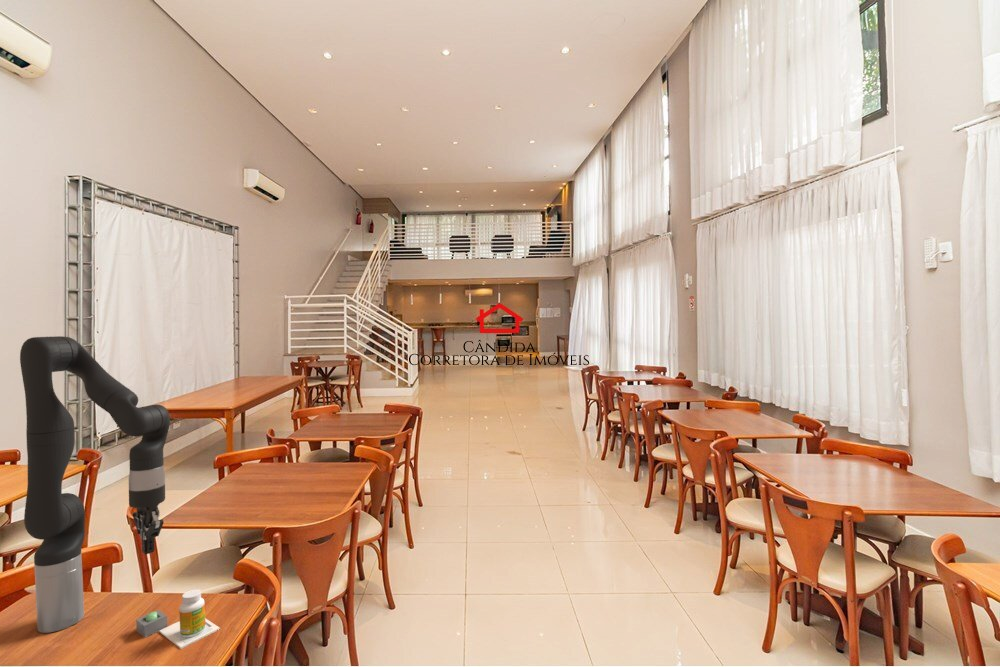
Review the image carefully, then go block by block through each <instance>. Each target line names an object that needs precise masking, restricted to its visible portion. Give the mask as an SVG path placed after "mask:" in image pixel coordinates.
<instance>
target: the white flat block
mask: <svg viewBox="0 0 1000 667" xmlns="http://www.w3.org/2000/svg"><path fill="white" fill-rule="evenodd" d="M219 629H220V630H221V627H220V626H218V625H216V624H215V623H214V622H212V621H210V620H209V619H207V618H206V617H205V629H204V631H203V632H201V633H200V634H198V635H196V636H193V637H188V638H185V637H182V636H181V635H180V620H179V621H177V622H175V623H172V624H170V625H167V627H166V628H164V629H162V630H160V631H158V632H159V634H161V635H162V636H164V637H165V638H166V639H167V640H169V641H170V642H171V643H173V644H174V645H175V646H177V648H179V649H180V650H182V649H184V648H186V647H188V646H190V645H192V644H194V643H196V642H198V641H200V640H202V639H203V638H206V637H207V636H208V637H209V635H212V634H213V633H215V632H218V631H220V630H219ZM217 630H218V631H217Z"/></svg>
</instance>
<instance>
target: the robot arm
mask: <svg viewBox="0 0 1000 667" xmlns="http://www.w3.org/2000/svg"><path fill="white" fill-rule="evenodd" d="M19 351H20V352H19V354H20V355H19V363H20V364H19V365H20V370H21V371H20V372H21V375H22V384H23V387H24V388H23V389H24V394H25V395H24V396H25V412H26V414H25V415H26V429H25V430H26V434H25V436H26V453H27V454H26V455H27V489H26V496H25V504H24V505H25V506H24V516H23V517H24V518H23V521H24V522H23V524H24V528H25V530H26V531H27V533H28V534H29V536H30V537H32V538H34V539H37V540H40V541H41V540H42V542H41V544H40V545H39V547H38V548H37V549H36V550H35V552H34V554H33V560H34V561H33V562H34V564H33V565H34V582H35V583H34V584H35V602H36V603H35V604H36V605H35V606H36V607H35V608H36V625H37V632H38V633H41V634H42V633H43V634H46V633H47V634H48V633H54V632H58V631H62V630H64V629H68V628H70V627H72V626H74V625H75V624H77V623H79V622H80V621H81V620H83V618H84V617H85V607H84V606H85V604H84V601H85V600H84V599H85V598H84V580H83V563H82V562H83V561H82V558H83V557H82V546H83V543H84V540H85V536H86V534H85V533H86V532H85V528H86V511H85V505H84V503H83V501H82V499H81V498H80V497H79V496H78V495H77V494H74V493H69V492H64V493H63V491H62V489H63V488H62V486H63V485H62V484H63V479H64V475H65V473H66V470H67V468H68V465H69V463H70V460H71V458H72V455H73V452H74V450H75V444H76V443H75V442H76V441H75V440H76V439H75V437H76V435H75V433H76V432H75V420H74V418H73V416H72V415H71V413H70V412H69V410H68V409H67V408H66V406H64V404H63V403H62V402H61V400H60V399H59V397H58V396H57V394H56V393H55V389H54V384H53V382H54V381H53V373H55V372H65V371H67V372H69V373H71V374H74V375H75V376H77V377H79V378H80V379H81V380H82V382H83V384H84V390H85V393H86V395H87V396H88V398H89V399H90V400H91V401H92V402H93V403H94V404H95V405H97V406H98V407H100V408H101V409H102V410H103V411H105V412H107V413H108V414H109V415H110V416H111V419H112V420H113V421H114V423H115V424H116V426H117V427H118V429H120V431H121V432H122V433H124V434H125V435H127V436H131V437H135V438H137V437H142V438H141V440H140V441H139V442H138V443H137V444H135V445H133V446H132V447H131V448H130V450H129V458H128V459H129V474H128V506H129V507H130V508H133V509H136V511H135V512H132V517H133V521H134V525H135V528H136V533H137V535H139V537H140V539H141V552H142V554H144V555H149V554H152V553H154V551H155V538H156V537H159V535H160V533H161V530H162V528H163V525H164V522H165V521H164V519H159V517H160V512H161V511H160V509H159V507H158V506H159V505H160V504H163V502H164V501H165V500H166V472H165V467H164V466H165V465H164V447H165V444H166V441H167V437H168V433H169V430H170V426H171V415H170V412H169V411H168V409H167V408H166V406H164V405H162V404H150V405H145V406H139V407H138V406H137V405H138V402H139V397H138V395H137V394H136V393H135V392H134V391H133V390H131V388H130V389H129V388H128V387H127V386H125V385H124V384H123V383H121V382H120V381H119V380H117V379H116V378H115V377H114V376H113V375H111V374H109V372H107V371H106V370H105V368H103V367H102V365H100V363H99V362H98V361H97V360H96V359H95V358H94V357H93V356H92V355H91V354H90V353H89V351H87V350H86V349H85V348H84V347H83V345H81V343H79V342H78V341H77V340H75V339H74V338H73V337H70V336H61V335H60V336H56V335H55V336H35V337H29V338H28V339H26V340H25V341H24V342H23V344H22V346H21V349H20V350H19Z"/></svg>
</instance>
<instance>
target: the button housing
mask: <svg viewBox="0 0 1000 667" xmlns="http://www.w3.org/2000/svg"><path fill="white" fill-rule="evenodd" d="M154 612H157V618H156V619H154V620H152V621H150V622H148V623H147V622H146V615H147V614H145V615H143V616H141V617H138V618H136V621H135V622H136V624H135V625H136V632H137V633H139V634H140V635H141V636H142V637H143V638H148V637H150V636H152V635H154V634H157V633H158V632H159V631H160V630H162V629H164V628H166V627H168V615H166V614H165V613H164V612H162V611H161V610H159V609H157V610H155V611H154ZM153 633H154V634H153ZM151 634H152V635H151ZM149 635H150V636H149Z"/></svg>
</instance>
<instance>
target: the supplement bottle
mask: <svg viewBox="0 0 1000 667" xmlns="http://www.w3.org/2000/svg"><path fill="white" fill-rule="evenodd" d="M181 601H182V603H181V604H180V605H179V609H178V610H179V611H178V612H179V621H180V635H181V636H182V637H185V638H188V637H193V636H196V635H198V634H200V633H201V632H203V631H204V629H205V618H206V608H205V606H206V604H205V599H204V598H203V597H202V591H201V589H197V588H196V589H191V590H188V591H185V592H184V593H183V594H182V596H181Z"/></svg>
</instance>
